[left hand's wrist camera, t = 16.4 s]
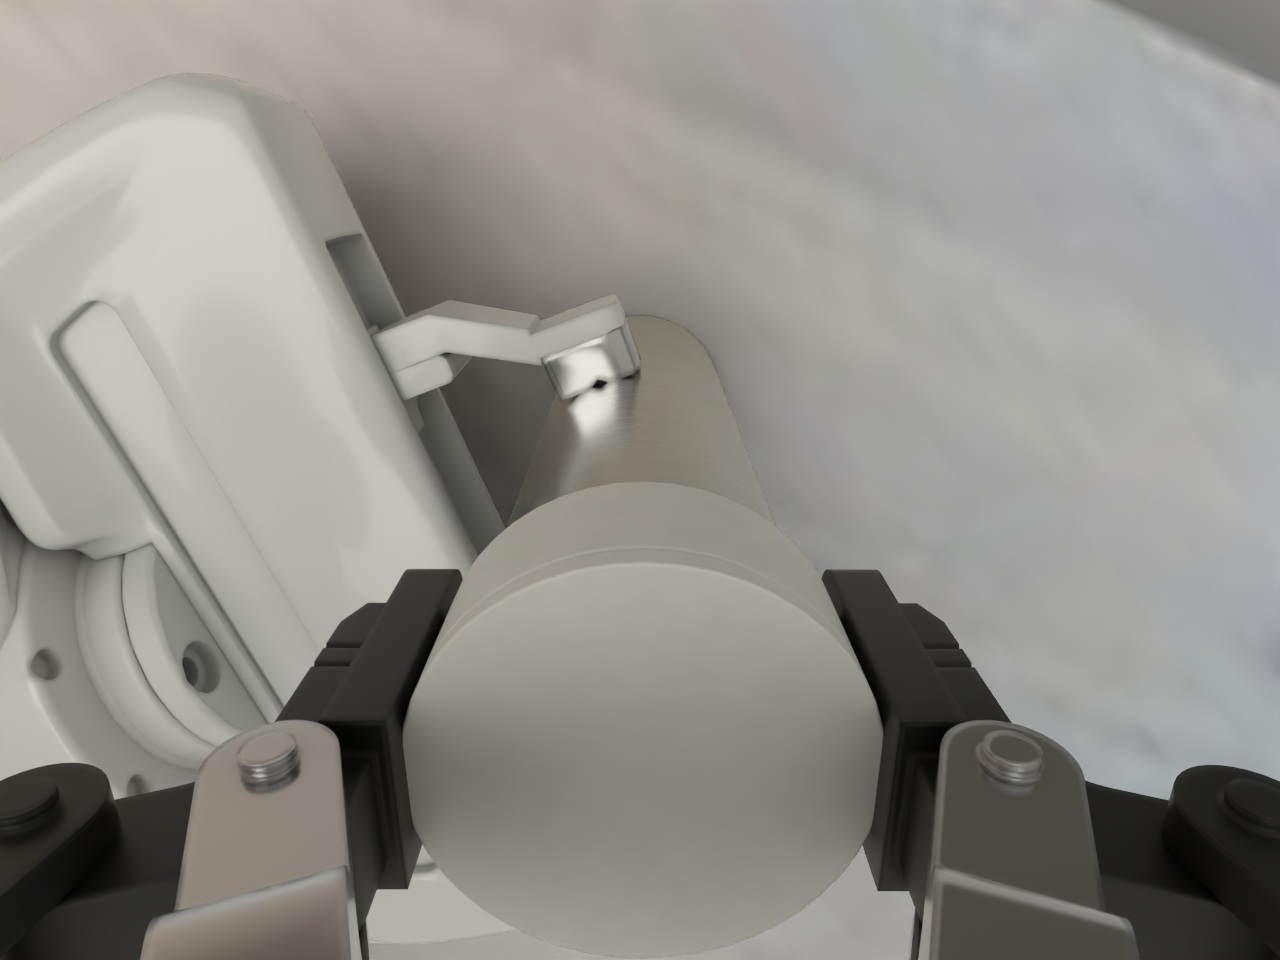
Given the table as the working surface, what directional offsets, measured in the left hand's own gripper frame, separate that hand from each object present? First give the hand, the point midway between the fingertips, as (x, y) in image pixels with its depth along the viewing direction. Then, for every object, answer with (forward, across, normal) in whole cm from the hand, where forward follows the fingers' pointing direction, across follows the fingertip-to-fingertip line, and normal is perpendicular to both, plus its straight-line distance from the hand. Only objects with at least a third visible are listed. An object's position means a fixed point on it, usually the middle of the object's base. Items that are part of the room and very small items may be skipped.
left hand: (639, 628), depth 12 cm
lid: (-3, 0, 0) cm, 3 cm away
